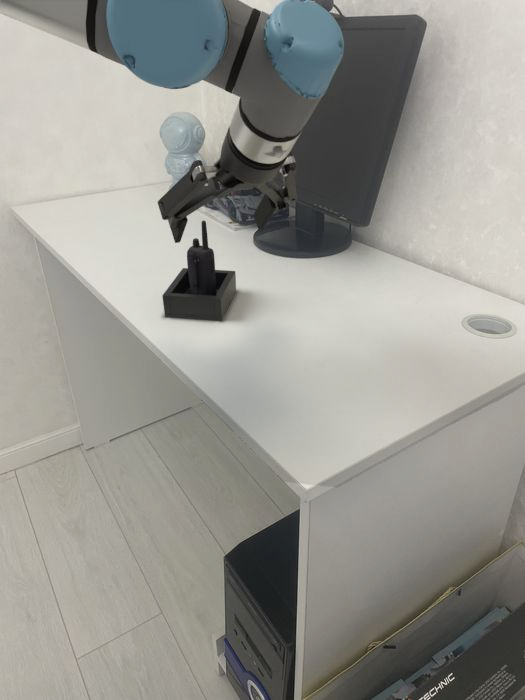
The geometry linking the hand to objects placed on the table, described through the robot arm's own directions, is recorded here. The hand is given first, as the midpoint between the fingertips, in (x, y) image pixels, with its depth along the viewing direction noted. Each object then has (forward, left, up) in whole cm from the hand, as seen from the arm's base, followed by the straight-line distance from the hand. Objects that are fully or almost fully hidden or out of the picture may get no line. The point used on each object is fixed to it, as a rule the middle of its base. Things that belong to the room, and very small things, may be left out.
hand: (217, 228), depth 79 cm
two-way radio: (-6, +9, -17) cm, 20 cm away
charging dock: (-6, +9, -18) cm, 21 cm away
